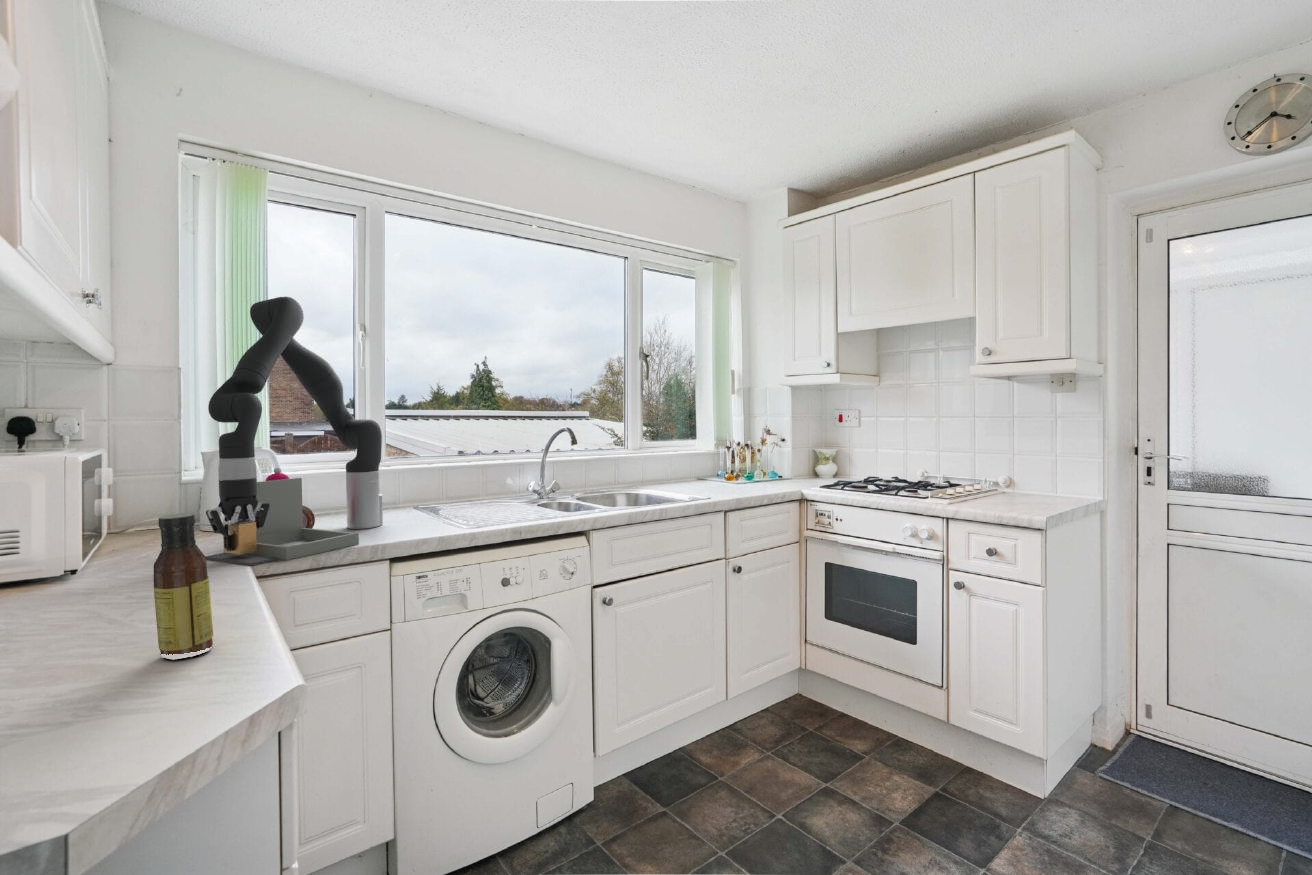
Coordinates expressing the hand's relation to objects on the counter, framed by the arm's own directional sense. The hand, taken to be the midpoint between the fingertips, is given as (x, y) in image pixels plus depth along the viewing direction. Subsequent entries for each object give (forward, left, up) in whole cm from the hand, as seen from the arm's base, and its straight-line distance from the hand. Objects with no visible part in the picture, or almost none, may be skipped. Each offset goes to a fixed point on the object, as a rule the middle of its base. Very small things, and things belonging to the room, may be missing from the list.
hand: (240, 548), depth 148 cm
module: (0, 0, -1) cm, 1 cm away
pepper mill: (-21, -17, -3) cm, 27 cm away
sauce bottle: (+41, +55, -3) cm, 69 cm away
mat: (0, 0, -3) cm, 3 cm away
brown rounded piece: (-27, -22, -3) cm, 35 cm away
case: (-14, 0, -3) cm, 14 cm away
